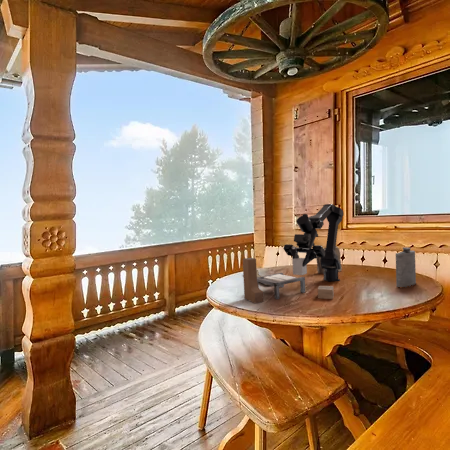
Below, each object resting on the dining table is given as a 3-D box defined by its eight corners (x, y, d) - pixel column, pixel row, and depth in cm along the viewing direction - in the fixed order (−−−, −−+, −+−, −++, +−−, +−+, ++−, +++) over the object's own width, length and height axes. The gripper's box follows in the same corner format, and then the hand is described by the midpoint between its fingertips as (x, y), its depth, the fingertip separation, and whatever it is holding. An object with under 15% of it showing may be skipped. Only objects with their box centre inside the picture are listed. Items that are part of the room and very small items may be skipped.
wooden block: (264, 301, 132) (262, 259, 131) (255, 303, 130) (253, 260, 129) (252, 297, 140) (250, 257, 139) (244, 299, 138) (242, 258, 137)
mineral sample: (339, 270, 191) (338, 245, 190) (343, 271, 187) (343, 246, 186) (315, 273, 186) (314, 247, 185) (319, 274, 182) (319, 248, 181)
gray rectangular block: (297, 272, 143) (297, 257, 143) (306, 273, 140) (306, 258, 140) (293, 274, 140) (292, 258, 140) (302, 275, 137) (301, 259, 137)
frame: (276, 299, 134) (276, 283, 134) (254, 292, 148) (253, 277, 147) (305, 292, 144) (304, 277, 143) (281, 286, 157) (281, 272, 157)
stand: (319, 294, 139) (319, 285, 138) (333, 295, 136) (333, 286, 136) (318, 298, 133) (317, 289, 133) (332, 299, 131) (332, 289, 131)
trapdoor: (278, 287, 137) (278, 281, 137) (261, 283, 147) (261, 277, 147) (297, 283, 144) (297, 277, 143) (279, 279, 154) (279, 273, 154)
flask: (418, 283, 150) (417, 246, 149) (403, 288, 142) (402, 249, 141) (410, 282, 153) (409, 245, 152) (395, 287, 145) (394, 248, 144)
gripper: (284, 227, 148) (272, 253, 141) (321, 227, 136) (311, 256, 128) (293, 242, 155) (282, 268, 147) (329, 243, 142) (320, 271, 135)
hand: (298, 265), depth 139 cm, fingers closed on gray rectangular block, 4 cm apart
